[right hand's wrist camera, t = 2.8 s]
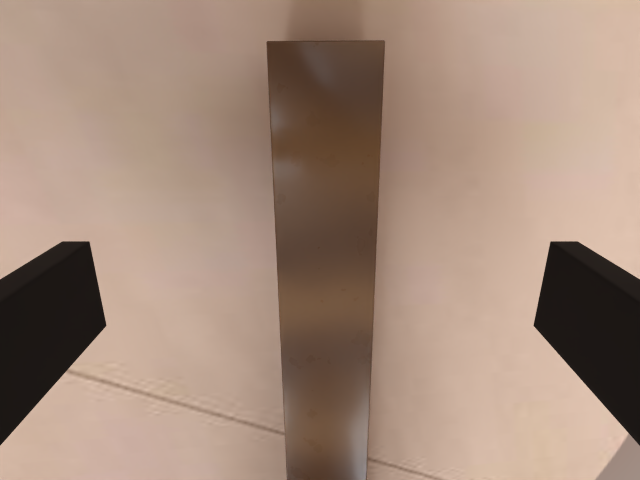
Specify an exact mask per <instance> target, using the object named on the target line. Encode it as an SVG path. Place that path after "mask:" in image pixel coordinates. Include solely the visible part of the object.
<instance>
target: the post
mask: <svg viewBox="0 0 640 480" xmlns="http://www.w3.org/2000/svg"><path fill="white" fill-rule="evenodd" d="M384 51H385V41H384V40H376V41H268V42H267V61H268V82H269V104H270V125H271V146H272V168H273V189H274V210H275V232H276V253H277V274H278V296H279V317H280V339H281V360H282V381H283V403H284V424H285V445H286V467H287V480H367V456H368V432H369V409H370V385H371V361H372V337H373V313H374V289H375V265H376V242H377V218H378V194H379V170H380V146H381V122H382V98H383V75H384Z"/></svg>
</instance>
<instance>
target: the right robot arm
mask: <svg viewBox="0 0 640 480" xmlns="http://www.w3.org/2000/svg"><path fill="white" fill-rule="evenodd" d="M105 327H106V321H105V317H104V312H103V307H102V302H101V297H100V292H99V287H98V282H97V277H96V272H95V267H94V262H93V257H92V252H91V247H90V242H61V243H59V244H58V245H56V246H54V247H53V248H51V249H49V250H48V251H46V252H44V253H43V254H41V255H40V256H38V257H36V258H35V259H33V260H31V261H30V262H28V263H26V264H25V265H23V266H22V267H20V268H18V269H17V270H15V271H13V272H12V273H10V274H8V275H7V276H5V277H4V278H2V279H0V445H1V444H2V443H3V442H4V441H5V440H6V438H7V437H8V436H9V435H10V434H11V433H12V432H13V431H14V429H15V428H16V427H17V426H18V425H19V424H20V423H21V421H22V420H23V419H24V418H25V417H26V416H27V415H28V414H29V412H30V411H31V410H32V409H33V408H34V407H35V406H36V405H37V403H38V402H39V401H40V400H41V399H42V398H43V397H44V395H45V394H46V393H47V392H48V391H49V390H50V389H51V388H52V386H53V385H54V384H55V383H56V382H57V381H58V380H59V379H60V377H61V376H62V375H63V374H64V373H65V372H66V371H67V370H68V368H69V367H70V366H71V365H72V364H73V363H74V362H75V360H76V359H77V358H78V357H79V356H80V355H81V354H82V353H83V351H84V350H85V349H86V348H87V347H88V346H89V345H90V344H91V342H92V341H93V340H94V339H95V338H96V337H97V336H98V335H99V333H100V332H101V331H102V330H103V329H104V328H105ZM534 327H535V328H536V329H537V330H538V331H539V332H540V333H541V335H542V336H543V337H544V338H545V339H546V340H547V341H548V342H549V344H550V345H551V346H552V347H553V348H554V349H555V350H556V351H557V353H558V354H559V355H560V356H561V357H562V358H563V359H564V360H565V362H566V363H567V364H568V365H569V366H570V367H571V368H572V370H573V371H574V372H575V373H576V374H577V375H578V376H579V377H580V379H581V380H582V381H583V382H584V383H585V384H586V385H587V386H588V388H589V389H590V390H591V391H592V392H593V393H594V394H595V395H596V397H597V398H598V399H599V400H600V401H601V402H602V403H603V405H604V406H605V407H606V408H607V409H608V410H609V411H610V412H611V414H612V415H613V416H614V417H615V418H616V419H617V420H618V421H619V423H620V424H621V425H622V426H623V427H624V428H625V429H626V431H627V432H628V433H629V434H630V435H631V436H632V437H633V438H634V440H635V441H636V442H637V443H638V444H639V445H640V279H638V278H636V277H635V276H633V275H632V274H630V273H628V272H627V271H625V270H623V269H622V268H620V267H618V266H617V265H615V264H614V263H612V262H610V261H609V260H607V259H605V258H604V257H602V256H600V255H599V254H597V253H595V252H594V251H592V250H591V249H589V248H587V247H586V246H584V245H582V244H581V243H579V242H550V247H549V252H548V257H547V262H546V267H545V272H544V277H543V282H542V287H541V292H540V297H539V302H538V307H537V312H536V317H535V321H534Z"/></svg>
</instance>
